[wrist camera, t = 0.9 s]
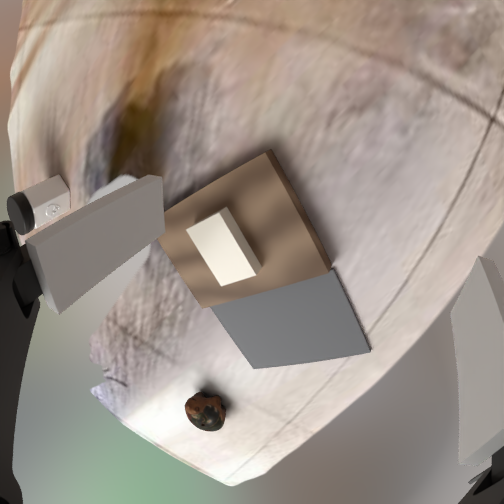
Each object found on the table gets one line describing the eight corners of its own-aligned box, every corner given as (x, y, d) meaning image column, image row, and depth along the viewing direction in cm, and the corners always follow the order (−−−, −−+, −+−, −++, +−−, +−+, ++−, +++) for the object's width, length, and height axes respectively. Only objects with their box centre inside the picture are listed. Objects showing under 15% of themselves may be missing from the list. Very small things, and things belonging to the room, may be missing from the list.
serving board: (155, 217, 47) (147, 222, 45) (271, 149, 35) (265, 152, 33) (208, 301, 51) (202, 308, 49) (331, 264, 38) (328, 273, 37)
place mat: (210, 303, 51) (208, 305, 50) (333, 268, 39) (332, 269, 38) (254, 367, 54) (253, 369, 54) (370, 350, 42) (370, 352, 42)
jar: (71, 218, 57) (28, 244, 47) (51, 204, 58) (10, 227, 49) (70, 180, 52) (21, 204, 42) (49, 168, 53) (4, 188, 43)
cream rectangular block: (194, 223, 42) (185, 229, 40) (226, 206, 38) (219, 212, 37) (227, 278, 44) (221, 286, 42) (262, 267, 40) (256, 275, 39)
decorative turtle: (217, 383, 62) (202, 412, 56) (241, 418, 69) (229, 444, 62) (182, 378, 67) (166, 404, 60) (208, 413, 73) (195, 437, 67)
